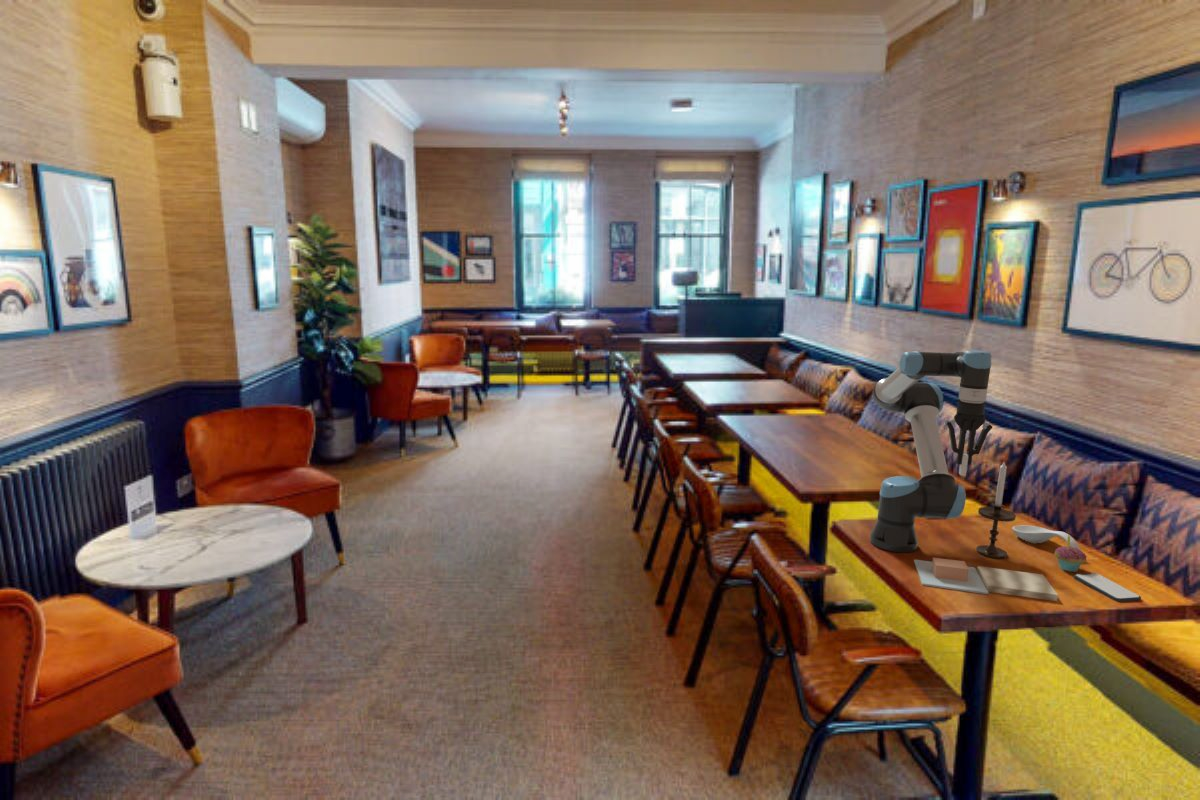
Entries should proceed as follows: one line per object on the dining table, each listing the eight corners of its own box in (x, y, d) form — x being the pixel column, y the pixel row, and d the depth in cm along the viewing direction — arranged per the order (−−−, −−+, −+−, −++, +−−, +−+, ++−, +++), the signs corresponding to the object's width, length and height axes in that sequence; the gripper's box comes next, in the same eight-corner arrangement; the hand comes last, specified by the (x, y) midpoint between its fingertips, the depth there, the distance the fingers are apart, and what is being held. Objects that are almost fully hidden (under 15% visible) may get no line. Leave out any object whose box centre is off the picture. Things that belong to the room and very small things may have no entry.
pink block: (934, 577, 210) (936, 565, 209) (931, 569, 215) (932, 557, 215) (967, 581, 207) (968, 569, 207) (962, 573, 213) (964, 561, 212)
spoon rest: (1003, 535, 247) (1006, 516, 246) (1029, 532, 250) (1032, 514, 249) (1062, 562, 225) (1066, 542, 223) (1090, 559, 228) (1094, 539, 226)
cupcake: (1069, 575, 214) (1075, 539, 212) (1045, 564, 222) (1051, 529, 220) (1090, 572, 217) (1097, 537, 214) (1066, 561, 225) (1072, 527, 222)
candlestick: (1000, 547, 235) (1014, 449, 228) (1016, 560, 224) (1031, 458, 218) (967, 545, 236) (980, 447, 229) (981, 558, 225) (995, 456, 219)
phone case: (1142, 602, 199) (1095, 576, 215) (1143, 597, 199) (1096, 572, 214) (1116, 604, 198) (1071, 578, 213) (1117, 599, 198) (1071, 573, 213)
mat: (922, 585, 206) (922, 583, 206) (913, 561, 223) (914, 559, 223) (988, 594, 201) (988, 592, 201) (974, 569, 218) (974, 567, 217)
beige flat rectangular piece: (987, 591, 203) (988, 585, 202) (976, 571, 216) (977, 565, 215) (1056, 601, 197) (1057, 594, 197) (1041, 580, 211) (1042, 574, 210)
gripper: (950, 401, 208) (941, 475, 213) (998, 404, 205) (988, 480, 209) (946, 397, 215) (937, 469, 220) (992, 400, 212) (982, 473, 216)
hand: (962, 474), depth 215 cm, fingers closed
